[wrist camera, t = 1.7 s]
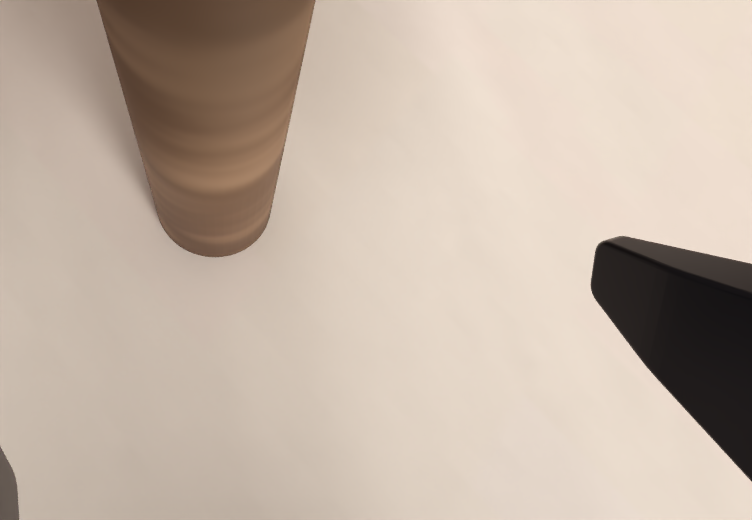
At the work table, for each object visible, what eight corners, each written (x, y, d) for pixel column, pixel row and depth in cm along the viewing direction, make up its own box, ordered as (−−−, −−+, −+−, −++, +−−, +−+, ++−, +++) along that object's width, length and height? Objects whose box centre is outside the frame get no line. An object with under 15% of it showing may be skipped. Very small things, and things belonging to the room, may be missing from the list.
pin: (292, 213, 23) (368, -29, 11) (205, 279, 22) (184, 82, 10) (224, 134, 24) (225, -189, 12) (132, 193, 22) (26, -101, 10)
